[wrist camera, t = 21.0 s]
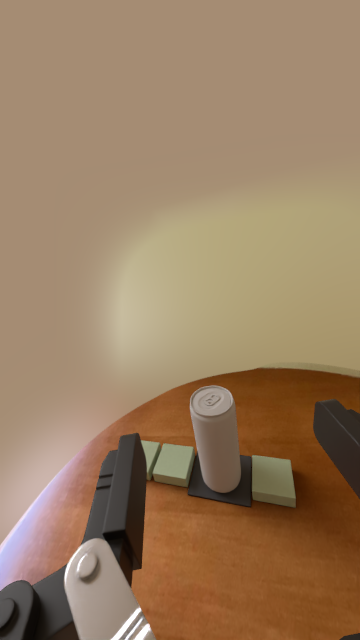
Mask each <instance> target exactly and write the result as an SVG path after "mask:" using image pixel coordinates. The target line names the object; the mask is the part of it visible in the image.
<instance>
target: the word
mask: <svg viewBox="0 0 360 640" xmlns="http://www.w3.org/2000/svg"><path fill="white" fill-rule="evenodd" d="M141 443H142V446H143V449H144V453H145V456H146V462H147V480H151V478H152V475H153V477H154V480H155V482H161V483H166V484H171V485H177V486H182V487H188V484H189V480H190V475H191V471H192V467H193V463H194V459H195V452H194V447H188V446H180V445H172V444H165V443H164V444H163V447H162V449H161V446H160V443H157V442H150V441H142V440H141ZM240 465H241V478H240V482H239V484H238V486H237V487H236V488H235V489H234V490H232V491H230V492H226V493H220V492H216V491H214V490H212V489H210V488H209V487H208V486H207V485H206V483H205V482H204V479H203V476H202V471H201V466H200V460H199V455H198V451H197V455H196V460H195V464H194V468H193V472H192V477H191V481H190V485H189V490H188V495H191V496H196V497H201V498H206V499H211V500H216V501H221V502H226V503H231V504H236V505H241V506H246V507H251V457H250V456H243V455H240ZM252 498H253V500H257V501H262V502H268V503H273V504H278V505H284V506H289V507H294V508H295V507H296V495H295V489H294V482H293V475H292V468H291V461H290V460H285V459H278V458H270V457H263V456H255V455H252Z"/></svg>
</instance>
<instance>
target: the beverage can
mask: <svg viewBox="0 0 360 640" xmlns="http://www.w3.org/2000/svg"><path fill="white" fill-rule="evenodd" d="M190 412H191V418H192V423H193V428H194V434H195V439H196V444H197V450H198V455H199V460H200V466H201V471H202V476H203V479H204V482H205V483H206V485H207V486H208V487H209V488H210V489H212V490H214V491H216V492H220V493H226V492H230V491H232V490H234V489H235V488H236V487H237V486H238V484H239V482H240V478H241V465H240V455H239V444H238V432H237V420H236V409H235V402H234V400H233V397H232V394H231V393H230V392H229V391H228V390H227V389H225V388H223V387H220V386H205V387H203V388H200V389H198V390H197V391H195V392H194V393H193V395H192V396H191V399H190Z"/></svg>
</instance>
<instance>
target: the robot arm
mask: <svg viewBox="0 0 360 640" xmlns="http://www.w3.org/2000/svg"><path fill="white" fill-rule="evenodd" d="M313 429H314V433H315V436H316V438H317V440H318V442H319V443H320V445H321V446H322V447H323V449H324V450H325V452H326V453H327V454H328V456H329V457H330V459H331V460H332V461H333V463H334V464H335V465H336V467H337V468H338V470H339V471H340V472H341V474H342V475H343V477H344V478H345V479H346V481H347V482H348V483H349V485H350V486H351V488H352V489H353V490H354V492H355V493H356V495H357V496H358V497H359V499H360V414H359V413H357V412H355V411H354V410H352V409H350V410H346V409H345V408H344V407H343V406H342V405H341V404H340V403H339V402H338V401H337V400H335V399H331V400H325V401H320V402H316V404H315V412H314V424H313ZM146 480H147V462H146V456H145V453H144V449H143V446H142V443H141V439H140V436H139V434H138V433H134V434H128V435H123V436H121V437H120V441H119V446H118V450H114V451H110V452H109V453H108V455H107V456H106V458H105V460H104V461H103V463H102V466H101V470H100V474H99V479H98V482H97V486H96V491H95V495H94V499H93V503H92V507H91V511H90V515H89V519H88V523H87V527H86V531H85V535H84V538H83V541H82V543H81V545H80V547H79V548H78V549H77V550H76V551H75V553H74V554H73V556H72V557H71V559H70V561H69V562H68V563H67V564H66V565H65V566H64V567H62V568H61V569H59V570H58V571H56V572H54V573H53V574H51V575H49V576H48V577H46V578H44V579H43V580H41V581H39V582H37V583H36V584H34V585H32V586H31V585H30V583H29V582H27V581H24V580H19V581H15V582H13V583H11V584H9V585H8V586H6V587H5V588H3V589H2V590H1V591H0V640H156V638H155V636H154V634H153V632H152V630H151V628H150V626H149V624H148V622H147V620H146V618H145V616H144V614H143V612H142V610H141V608H140V606H139V604H138V602H137V600H136V598H135V596H134V594H133V592H132V590H131V584H132V572H133V570H137V569H142V551H143V533H144V515H145V497H146ZM340 640H360V633H358V634H353V635H348V636H344V637H342V638H341V639H340Z"/></svg>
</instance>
